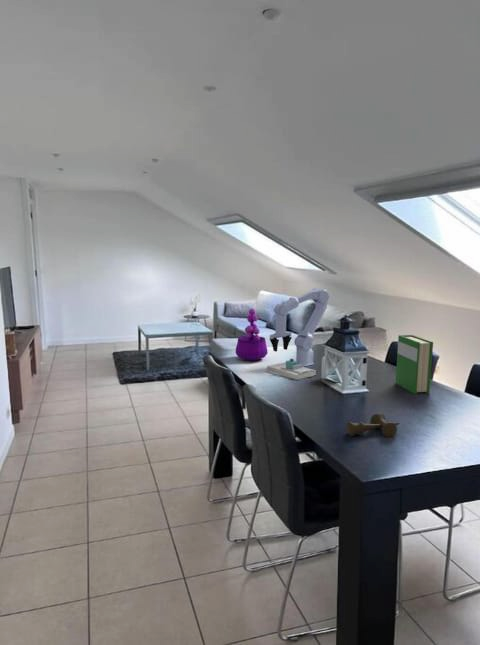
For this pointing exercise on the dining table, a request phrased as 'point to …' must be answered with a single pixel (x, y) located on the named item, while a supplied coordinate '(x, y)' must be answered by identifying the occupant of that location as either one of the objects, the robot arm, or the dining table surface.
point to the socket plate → (289, 371)
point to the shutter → (299, 368)
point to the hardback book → (414, 363)
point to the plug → (291, 364)
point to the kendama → (373, 426)
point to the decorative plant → (251, 341)
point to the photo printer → (323, 368)
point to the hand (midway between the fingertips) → (280, 350)
